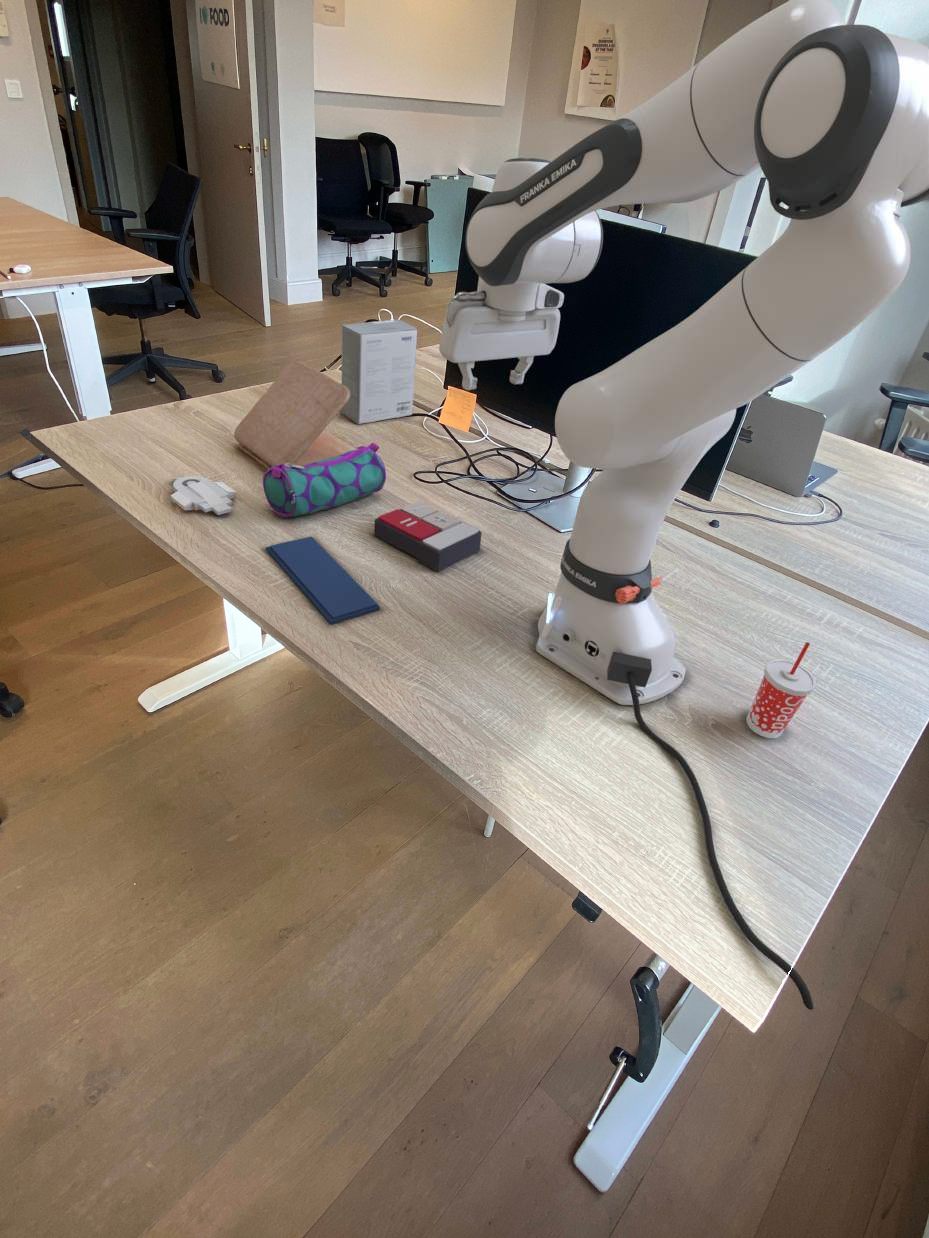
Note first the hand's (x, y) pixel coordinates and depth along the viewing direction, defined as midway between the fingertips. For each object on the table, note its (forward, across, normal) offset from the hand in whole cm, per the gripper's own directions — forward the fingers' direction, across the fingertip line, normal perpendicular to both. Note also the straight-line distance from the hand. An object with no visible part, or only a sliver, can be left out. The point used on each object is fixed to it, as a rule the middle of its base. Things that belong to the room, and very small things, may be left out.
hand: (492, 386), depth 108 cm
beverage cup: (+25, +6, -58) cm, 64 cm away
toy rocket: (+27, -38, +29) cm, 55 cm away
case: (+27, -13, +39) cm, 49 cm away
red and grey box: (+26, -10, 0) cm, 28 cm away
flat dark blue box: (+26, -30, -2) cm, 40 cm away
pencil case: (+27, -18, +19) cm, 37 cm away
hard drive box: (+27, +13, +54) cm, 62 cm away
